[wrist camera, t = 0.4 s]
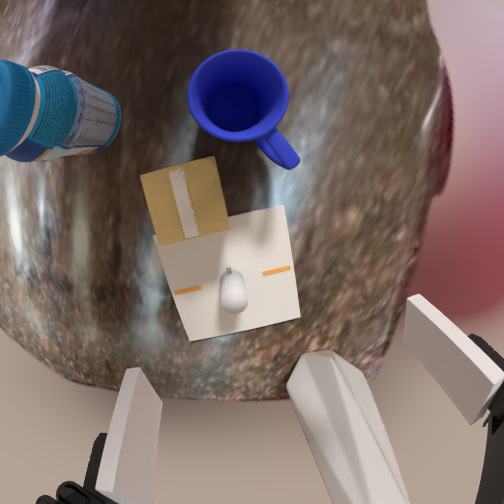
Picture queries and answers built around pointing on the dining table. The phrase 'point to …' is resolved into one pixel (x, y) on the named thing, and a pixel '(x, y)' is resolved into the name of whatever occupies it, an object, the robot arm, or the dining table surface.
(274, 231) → the post fixture
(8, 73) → the beverage bottle
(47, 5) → the dining table surface
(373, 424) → the vase
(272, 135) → the mug
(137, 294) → the dining table surface
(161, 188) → the taped shipping carton
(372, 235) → the dining table surface
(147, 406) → the robot arm
